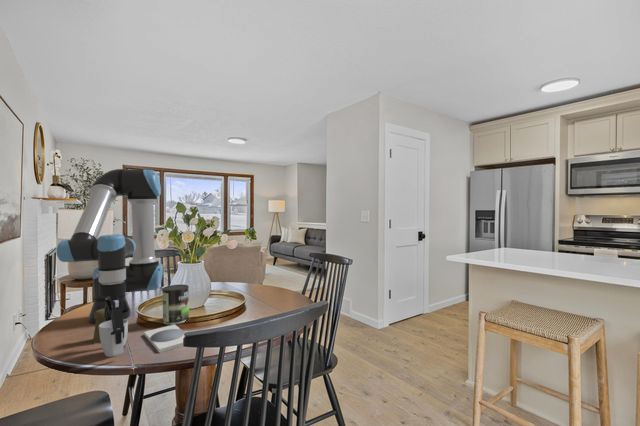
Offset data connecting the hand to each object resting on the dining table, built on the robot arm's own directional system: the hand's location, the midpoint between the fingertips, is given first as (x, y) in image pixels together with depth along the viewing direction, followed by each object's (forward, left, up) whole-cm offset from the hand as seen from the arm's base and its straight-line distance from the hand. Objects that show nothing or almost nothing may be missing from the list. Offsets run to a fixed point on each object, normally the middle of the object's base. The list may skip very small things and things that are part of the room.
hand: (114, 346), depth 105 cm
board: (0, +17, -2) cm, 17 cm away
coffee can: (-18, +25, -2) cm, 31 cm away
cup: (0, 0, -2) cm, 2 cm away
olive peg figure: (-16, -1, -2) cm, 16 cm away
